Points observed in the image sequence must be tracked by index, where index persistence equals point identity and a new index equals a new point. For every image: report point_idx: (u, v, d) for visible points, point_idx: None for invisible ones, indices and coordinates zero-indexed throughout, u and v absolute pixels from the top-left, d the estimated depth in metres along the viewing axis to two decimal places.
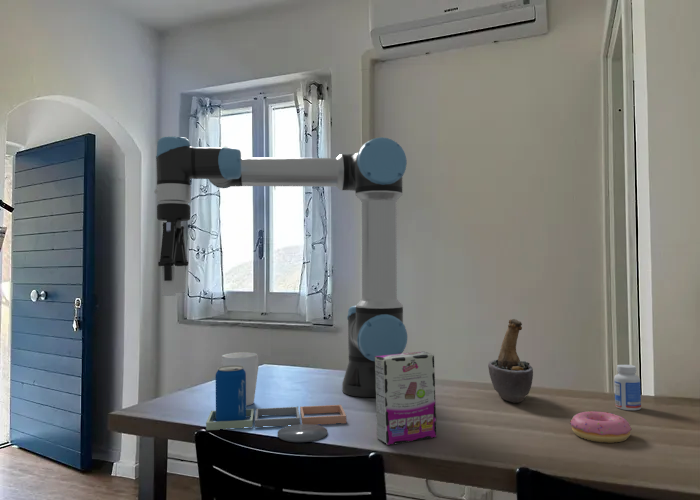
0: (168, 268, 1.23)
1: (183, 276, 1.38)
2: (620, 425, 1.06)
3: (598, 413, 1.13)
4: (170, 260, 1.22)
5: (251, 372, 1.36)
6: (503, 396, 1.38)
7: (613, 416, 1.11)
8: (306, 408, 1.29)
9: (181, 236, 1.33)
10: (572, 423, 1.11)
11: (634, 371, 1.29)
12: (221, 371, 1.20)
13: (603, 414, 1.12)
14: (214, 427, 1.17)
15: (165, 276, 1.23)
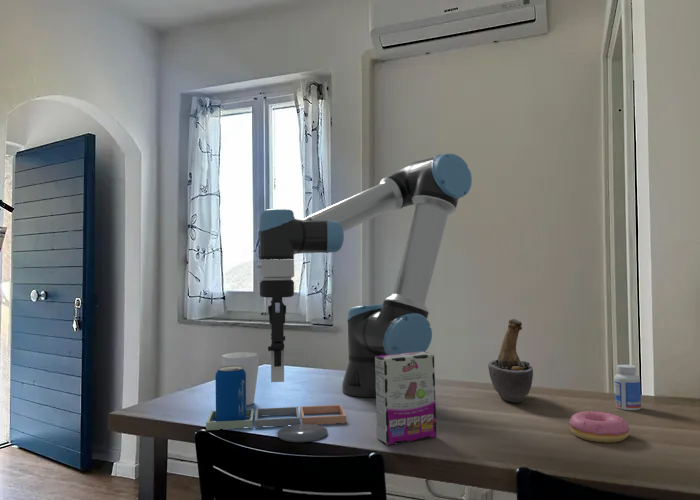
0: (278, 353, 1.16)
1: None
2: (618, 425, 1.06)
3: (597, 413, 1.13)
4: (282, 346, 1.14)
5: (251, 372, 1.36)
6: (503, 396, 1.38)
7: (612, 416, 1.11)
8: (306, 408, 1.29)
9: None
10: (570, 423, 1.11)
11: (634, 371, 1.29)
12: (221, 371, 1.20)
13: (602, 414, 1.12)
14: (214, 427, 1.17)
15: (275, 362, 1.15)
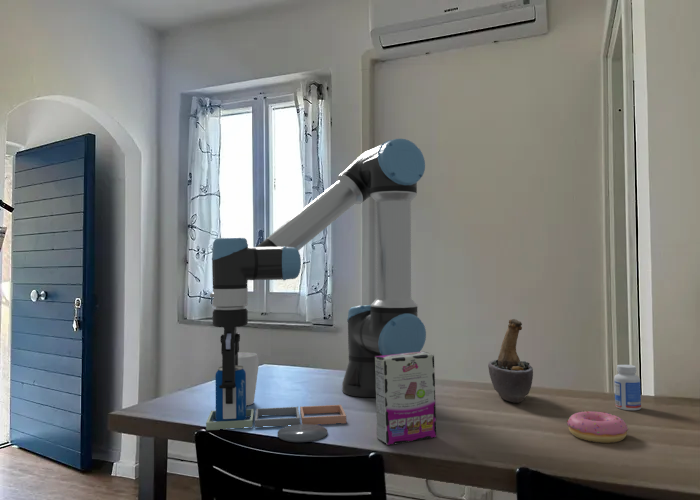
0: (229, 391, 1.17)
1: None
2: (617, 425, 1.06)
3: (595, 413, 1.13)
4: (233, 385, 1.16)
5: (251, 372, 1.36)
6: (503, 396, 1.38)
7: (610, 416, 1.11)
8: (306, 408, 1.29)
9: None
10: (569, 423, 1.11)
11: (634, 371, 1.29)
12: (221, 371, 1.20)
13: (600, 414, 1.12)
14: (214, 427, 1.17)
15: (226, 399, 1.17)
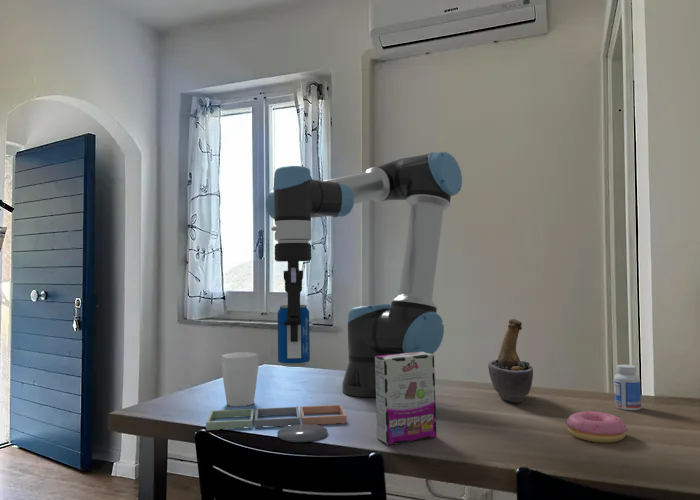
0: (295, 328, 1.10)
1: None
2: (616, 425, 1.06)
3: (594, 413, 1.13)
4: (299, 321, 1.08)
5: (251, 372, 1.36)
6: (503, 396, 1.38)
7: (609, 416, 1.11)
8: (306, 408, 1.29)
9: None
10: (568, 423, 1.11)
11: (634, 371, 1.29)
12: (284, 308, 1.12)
13: (599, 414, 1.12)
14: (214, 427, 1.17)
15: (291, 337, 1.09)
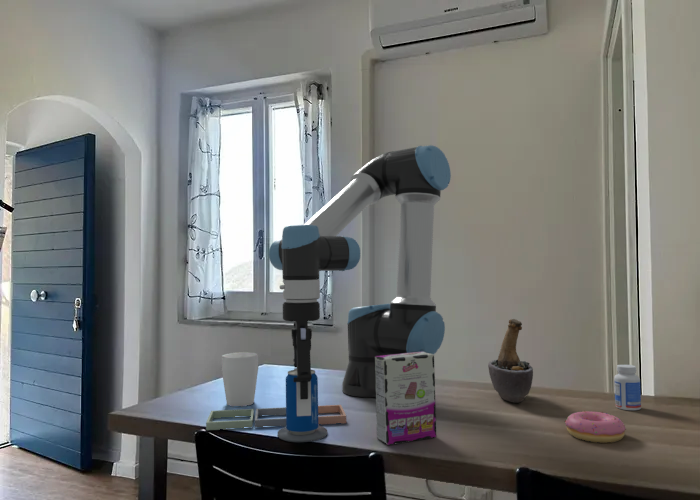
0: (305, 385, 1.05)
1: None
2: (614, 425, 1.06)
3: (593, 413, 1.13)
4: (309, 377, 1.04)
5: (251, 372, 1.36)
6: (503, 396, 1.38)
7: (608, 416, 1.11)
8: None
9: None
10: (567, 423, 1.11)
11: (634, 371, 1.29)
12: (293, 375, 1.11)
13: (598, 414, 1.12)
14: (214, 427, 1.17)
15: (301, 394, 1.05)
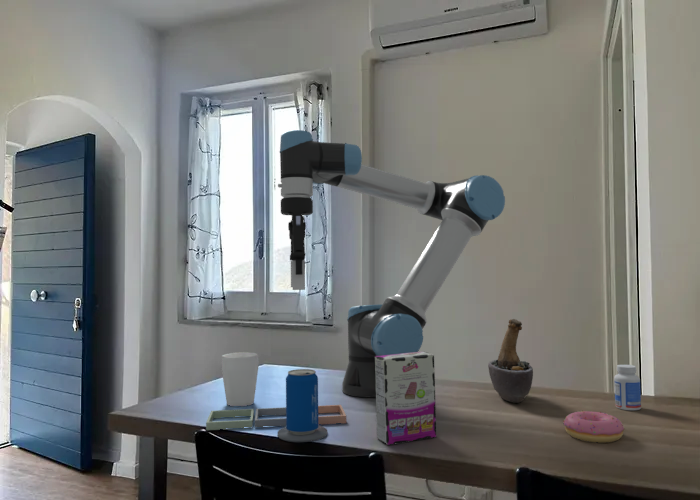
0: (299, 262, 1.23)
1: None
2: (613, 425, 1.06)
3: (591, 413, 1.13)
4: (303, 254, 1.21)
5: (251, 372, 1.36)
6: (503, 396, 1.38)
7: (606, 416, 1.11)
8: None
9: None
10: (565, 423, 1.11)
11: (634, 371, 1.29)
12: (293, 375, 1.11)
13: (596, 414, 1.12)
14: (214, 427, 1.17)
15: (297, 270, 1.22)
